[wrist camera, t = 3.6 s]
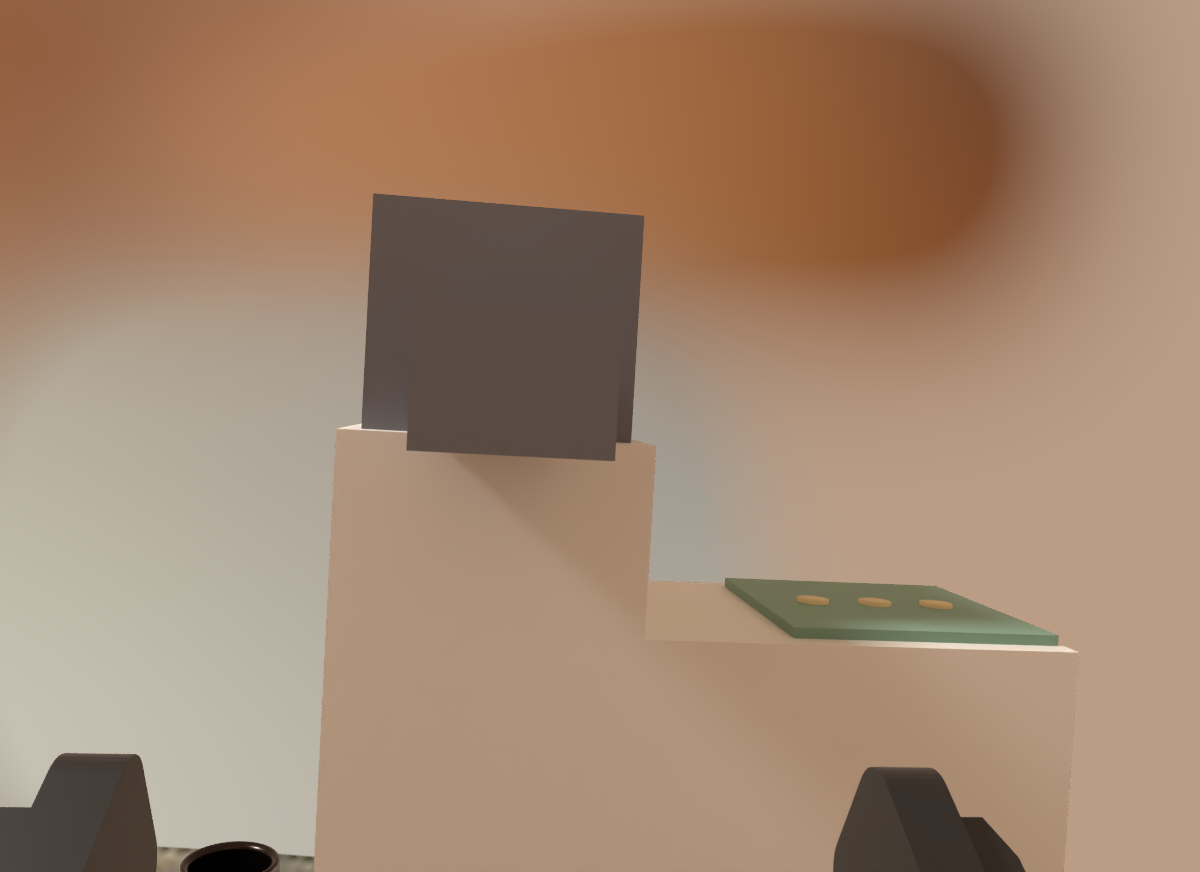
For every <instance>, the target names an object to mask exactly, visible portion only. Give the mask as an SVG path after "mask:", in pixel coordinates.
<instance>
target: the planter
mask: <svg viewBox="0 0 1200 872" xmlns="http://www.w3.org/2000/svg"><path fill="white" fill-rule="evenodd" d="M279 870H280V857H279V855H278V853H277V852H276V851H275V850H274V849H272V848H271V847H269V846H267V845H264V844H259V843H255V842H244V841H236V842H225V843H219V844H214V845H210V846H207V847H204V848H201V849H199V850H196V851H194V852H193V853H191V854H190V855H188V856H187V857H186V858H185V859H184V860H183V861H182V862H181V864H180V867H179V872H279Z"/></svg>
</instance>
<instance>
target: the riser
mask: <svg viewBox="0 0 1200 872" xmlns="http://www.w3.org/2000/svg"><path fill="white" fill-rule="evenodd" d="M361 426H362V423H361V424H357V425H352V426H347V427H342V428H337V429H336V442H335V463H334V481H333V482H334V483H333V501H332V521H331V542H330V560H329V561H330V562H329V580H328V601H327V620H326V639H325V640H326V641H325V659H324V679H323V699H322V719H321V738H320V758H319V778H318V797H317V817H316V837H315V838H316V839H315V856H314V872H833V861H834V853H835V848H836V845H837V842H838V839H839V837H840V834H841V831H842V829H843V826H844V823H845V821H846V818H847V815H848V812H849V810H850V807H851V804H852V802H853V799H854V796H855V794H856V791H857V788H858V785H859V783H860V780H861V777H862V775H863V773H864V772H865V770H866V769H867V768H869V767H921V768H933V769H935V770H936V771H937V772H938V773H939V774H940V775H941V776H942V778H943V779H944V781H945V783H946V785H947V787H948V789H949V792H950V794H951V796H952V798H953V801H954V803H955V805H956V807H957V810H958V812H959V814H960V816H961V817H983V818H984V820H985V821H986V822H987V823H988V824H989V825H990V826H991V827H992V828H993V829H994V831H995V832H996V833H997V834H998V835H999V836H1000V837H1001V838H1002V839H1003V841H1004V842H1005V843H1006V844H1007V845H1008V846H1009V847H1010V848H1011V849H1012V850H1013V852H1014V853H1015V854H1016V855H1017V856H1018V857H1019V859H1020V861H1021V863H1022V865H1023V867H1024V869H1025V871H1026V872H1064V859H1065V845H1066V831H1067V817H1068V803H1069V790H1070V775H1071V762H1072V747H1073V734H1074V720H1075V705H1076V692H1077V678H1078V664H1079V652H1077V651H1074V650H1072V649H1070V648H1067V647H1064V646H1062V645H1060V644H1058V635H1056V634H1053V633H1051V632H1049V631H1046V630H1043V629H1041V628H1038V627H1036V626H1034V625H1031V624H1029V623H1026V622H1024V621H1021V620H1019V619H1016V618H1014V617H1011V616H1009V615H1006V614H1004V613H1001V612H999V611H996V610H994V609H991V608H989V607H986V606H984V605H982V604H979V603H977V602H974V601H971V600H969V599H967V598H964V597H962V596H959V595H957V594H954V593H952V592H949V591H947V590H944V589H942V588H939V587H937V586H922V585H894V584H868V583H841V582H814V581H788V580H761V579H735V578H725V583H701V582H673V581H648V573H649V557H650V540H651V523H652V507H653V506H652V505H653V489H654V473H655V472H654V471H655V457H656V456H655V455H656V446H654V445H650V444H646V443H642V442H638V441H634V440H631V443H618V442H616V452H615V461H600V460H581V459H561V458H542V457H522V456H503V455H483V454H464V453H445V452H425V451H406V446H407V431H394V430H376V429H361Z"/></svg>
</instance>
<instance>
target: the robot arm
mask: <svg viewBox="0 0 1200 872" xmlns="http://www.w3.org/2000/svg"><path fill="white" fill-rule="evenodd" d="M156 865H157V843H156V836H155V831H154V825H153V820H152V814H151V809H150V803H149V798H148V793H147V787H146V782H145V776H144V770H143V765H142V761H141V759H140V757H139V756H138V755H136V754H77V753H65V754H61V755H60V756H58V757H57V758H56V759H55V761H54V762H53V764H52V765H51V767H50V769H49V771H48V773H47V775H46V777H45V779H44V782H43V784H42V786H41V788H40V790H39V792H38V794H37V796H36V799H35V801H34V803H33V805H32V807H31V808H23V807H21V808H20V807H8V808H7V807H0V872H156ZM833 872H1026V871H1025V869H1024V867H1023V865H1022V863H1021V861H1020V859H1019V857H1018V856H1017V855H1016V854H1015V853H1014V852H1013V850H1012V849H1011V848H1010V847H1009V846H1008V845H1007V844H1006V843H1005V842H1004V841H1003V839H1002V838H1001V837H1000V836H999V835H998V834H997V833H996V832H995V831H994V829H993V828H992V827H991V826H990V825H989V824H988V823H987V822H986V821H985V820H984V818H983V817H961V816H960V814H959V812H958V810H957V807H956V805H955V803H954V801H953V798H952V796H951V794H950V792H949V789H948V787H947V785H946V783H945V781H944V779H943V778H942V776H941V775H940V774H939V773H938V772H937V771H936V770H935V769H933V768H921V767H869V768H867V769H866V770H865V772H864V773H863V775H862V777H861V780H860V783H859V785H858V788H857V791H856V794H855V796H854V799H853V802H852V804H851V807H850V810H849V812H848V815H847V818H846V821H845V823H844V826H843V829H842V831H841V834H840V837H839V839H838V842H837V845H836V848H835V853H834V861H833Z"/></svg>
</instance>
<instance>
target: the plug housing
mask: <svg viewBox="0 0 1200 872" xmlns="http://www.w3.org/2000/svg"><path fill="white" fill-rule="evenodd" d="M643 228H644V216H638V215H628V214H615V213H602V212H590V211H578V210H567V209H555V208H542V207H530V206H518V205H505V204H494V203H482V202H469V201H457V200H445V199H433V198H421V197H408V196H396V195H384V194H373V213H372V232H371V252H370V270H369V290H368V310H367V329H366V348H365V368H364V387H363V407H362V426H361V429H376V430H394V431H407V446H406V451H425V452H445V453H464V454H483V455H503V456H522V457H542V458H561V459H581V460H600V461H615V452H616V442H618V443H631V431H632V415H633V398H634V397H633V396H634V381H635V364H636V346H637V329H638V313H639V296H640V279H641V261H642V245H643Z"/></svg>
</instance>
